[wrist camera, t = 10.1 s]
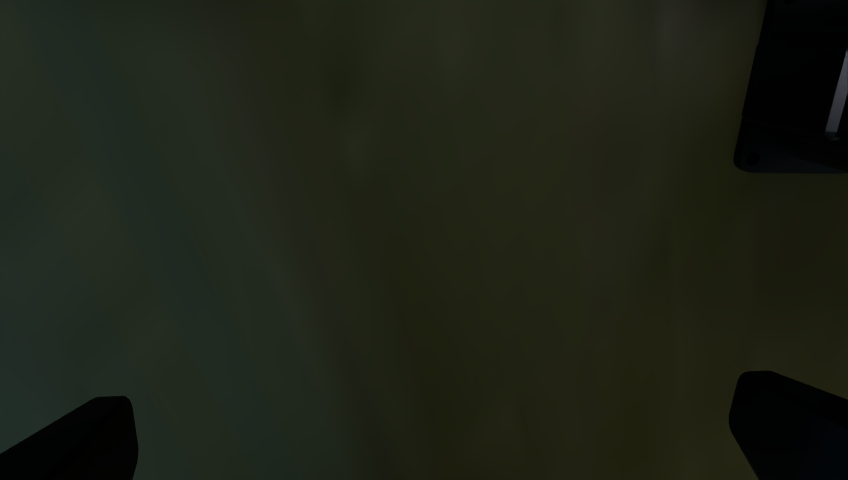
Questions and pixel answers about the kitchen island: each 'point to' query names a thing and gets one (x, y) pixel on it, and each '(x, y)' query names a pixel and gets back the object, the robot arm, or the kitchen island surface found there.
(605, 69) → the kitchen island surface
